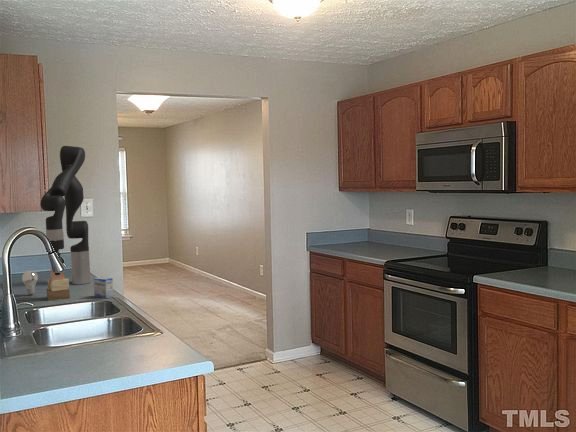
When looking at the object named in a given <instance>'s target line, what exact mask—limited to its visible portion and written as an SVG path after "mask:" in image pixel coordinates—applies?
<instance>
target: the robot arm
mask: <svg viewBox="0 0 576 432" xmlns="http://www.w3.org/2000/svg"><path fill="white" fill-rule="evenodd" d="M85 159H86V151H85V149H84V148H83V147H80V146H70V145H62V146H61V148H60V151H59V160H60V167H61V172H60V173H59V174H58V175H56V176H55V178H54V181H53V182H52V185H51V187H50V188H49V189H47V191H46V193H44V194H43V196H42V197H41V199H40V208H41V210H43V211H45V212H54V214H53V215H51V216H48V217H46V219H45V230H46V231H45V237H46V236H47V237H48V239H49V240H50V242H51V244H52V246H53V248H54V250H55V252H56V253H57V255H58V256H60V258H61V255H62V254H61V253H60V251H59V250H64V248H65V238H64V237H65V235H64V229H63V228H64V227H63V218H64V212H65V217H66V218H65V226H66V227H65V228H66V230H65V231H66V235H67V237H68V239H73V240H74V239H75V240H76V239H81V241H79V242H78V243H75V244H73V245H71V246H70V247H69V248H70V262H71V263H70V264H71V265H70V266H71V284H72V285H87V284H90V283H91V281H92V280H91V264H90V263H91V262H90V261H91V260H90V246H89V244H90V243H89V223H88V221H86V220H74V218H75V215H76V213H77V211H78V209H79V208H80V207H81V206H82V204H83V202H84V188H83V185H82V183H81V181H79V179H78V178H77V177H76V174H78V172H79V171H80V169H81V167H82V166H83V164H84V162H85ZM55 275H60V273H55Z"/></svg>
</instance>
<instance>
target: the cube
mask: <svg viewBox="0 0 576 432" xmlns="http://www.w3.org/2000/svg"><path fill="white" fill-rule="evenodd" d="M52 268H53V267H52ZM52 268H50V279H51V280H52V281H53V280H63V279H64V277H65V276H64V271H63V272H61V273H60V275H55V273H54V272H53V270H52Z"/></svg>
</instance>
